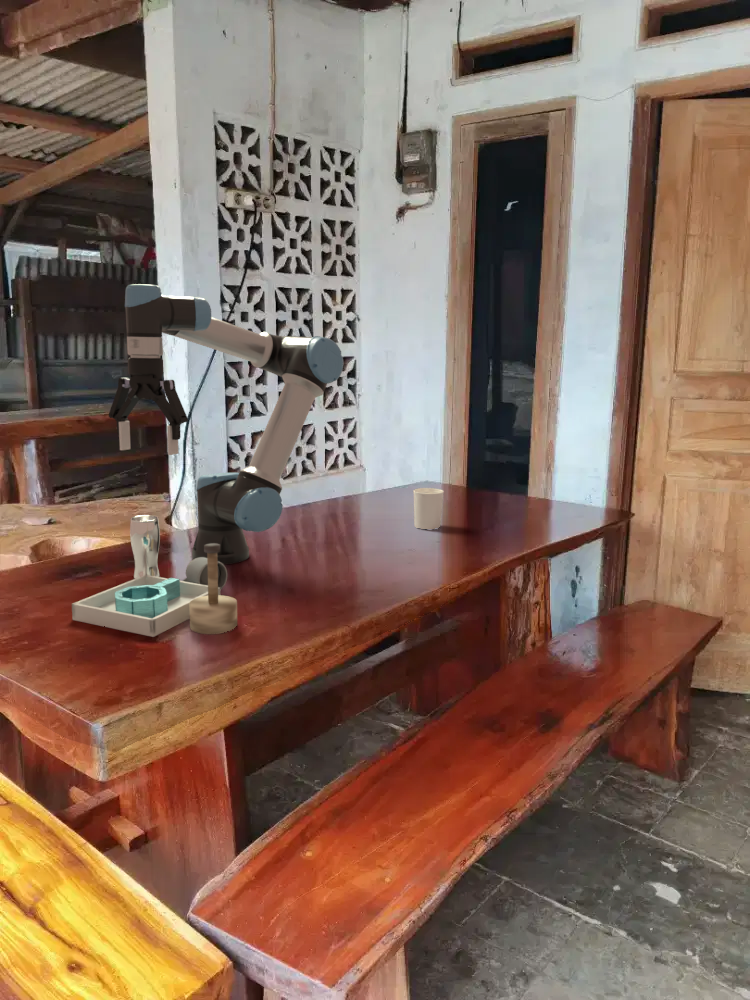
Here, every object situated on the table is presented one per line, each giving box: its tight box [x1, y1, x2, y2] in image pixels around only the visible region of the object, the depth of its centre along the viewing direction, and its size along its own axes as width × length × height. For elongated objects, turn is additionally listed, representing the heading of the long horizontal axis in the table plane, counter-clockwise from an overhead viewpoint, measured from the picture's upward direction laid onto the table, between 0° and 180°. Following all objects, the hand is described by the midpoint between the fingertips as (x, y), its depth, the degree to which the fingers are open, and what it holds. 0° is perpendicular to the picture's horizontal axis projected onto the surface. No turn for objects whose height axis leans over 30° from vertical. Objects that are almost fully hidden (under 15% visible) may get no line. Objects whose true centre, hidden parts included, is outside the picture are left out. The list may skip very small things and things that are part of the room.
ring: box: [115, 577, 181, 618], centre depth 167 cm, size 17×10×4 cm, turn 156°
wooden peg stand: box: [189, 543, 238, 635], centre depth 158 cm, size 10×10×17 cm
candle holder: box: [412, 487, 445, 530], centre depth 247 cm, size 10×10×12 cm
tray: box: [71, 575, 221, 638], centre depth 167 cm, size 23×21×4 cm
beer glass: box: [129, 514, 161, 579], centre depth 189 cm, size 7×7×15 cm
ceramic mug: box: [182, 557, 228, 591], centre depth 181 cm, size 11×8×8 cm
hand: (148, 452), depth 175 cm, fingers open, 13 cm apart
